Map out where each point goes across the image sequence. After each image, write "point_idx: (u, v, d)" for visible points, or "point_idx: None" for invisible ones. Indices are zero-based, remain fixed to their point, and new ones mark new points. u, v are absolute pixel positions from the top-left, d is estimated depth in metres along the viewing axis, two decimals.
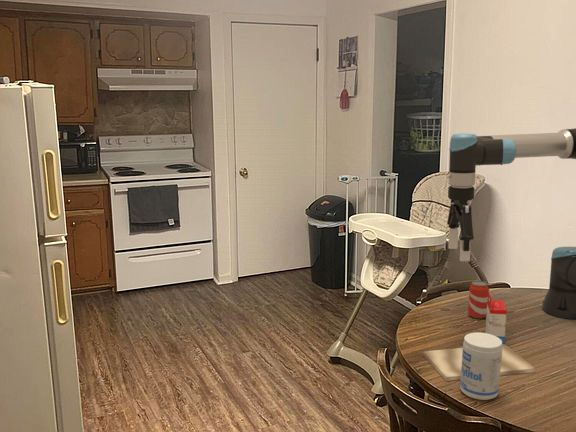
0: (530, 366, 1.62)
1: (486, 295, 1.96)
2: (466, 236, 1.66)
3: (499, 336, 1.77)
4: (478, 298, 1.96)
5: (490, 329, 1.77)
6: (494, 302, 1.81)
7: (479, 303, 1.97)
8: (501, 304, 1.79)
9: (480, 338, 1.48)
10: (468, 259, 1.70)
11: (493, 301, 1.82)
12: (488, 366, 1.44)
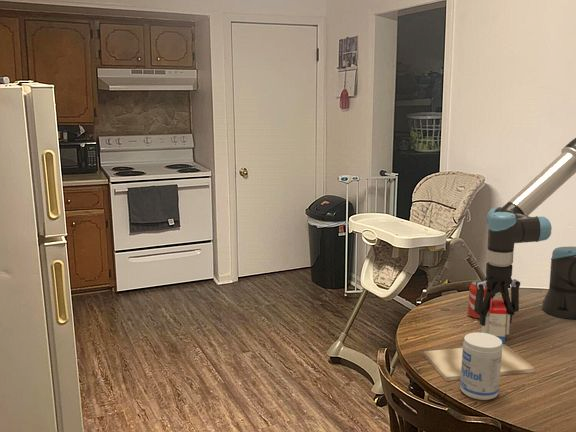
0: (530, 366, 1.62)
1: None
2: (475, 309, 1.79)
3: (499, 336, 1.77)
4: None
5: (490, 329, 1.77)
6: (494, 302, 1.81)
7: None
8: (501, 304, 1.79)
9: (480, 338, 1.48)
10: None
11: (493, 301, 1.82)
12: (488, 366, 1.44)
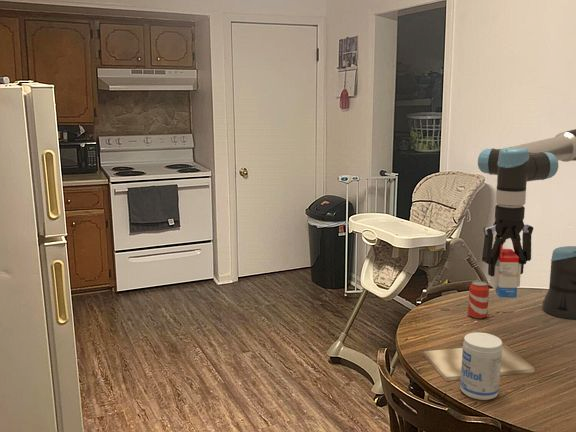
0: (530, 366, 1.62)
1: (486, 295, 1.96)
2: (483, 258, 1.60)
3: (510, 287, 1.58)
4: (478, 298, 1.96)
5: (500, 280, 1.58)
6: (503, 251, 1.62)
7: (479, 303, 1.97)
8: (512, 252, 1.60)
9: (480, 338, 1.48)
10: (494, 286, 1.61)
11: None
12: (488, 366, 1.44)
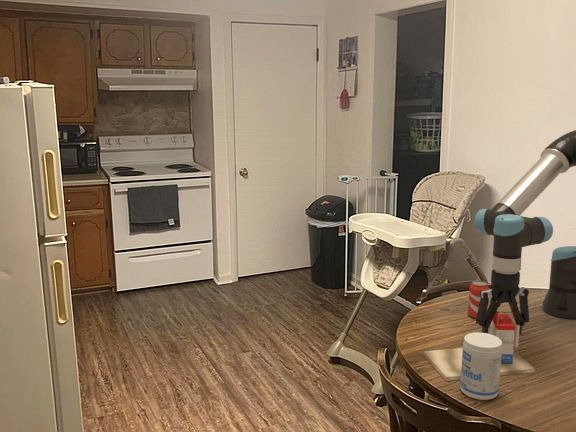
0: (530, 366, 1.62)
1: None
2: (477, 320, 1.64)
3: (507, 354, 1.62)
4: (478, 298, 1.96)
5: None
6: (499, 317, 1.66)
7: None
8: (507, 319, 1.65)
9: (480, 338, 1.48)
10: None
11: None
12: (488, 366, 1.44)
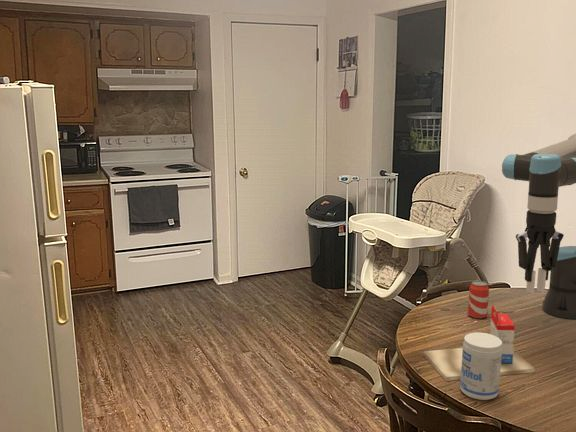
0: (530, 366, 1.62)
1: (486, 295, 1.96)
2: (520, 264, 1.63)
3: (507, 354, 1.62)
4: (478, 298, 1.96)
5: None
6: (499, 317, 1.66)
7: (479, 303, 1.97)
8: (507, 319, 1.64)
9: (480, 338, 1.48)
10: (530, 291, 1.63)
11: None
12: (488, 366, 1.44)
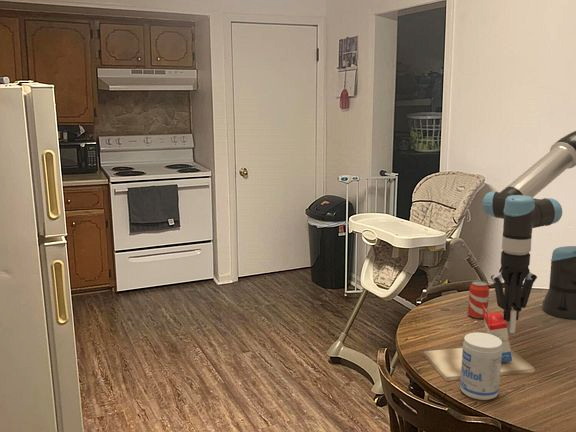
0: (530, 366, 1.62)
1: (486, 295, 1.96)
2: None
3: (504, 352, 1.62)
4: (478, 298, 1.96)
5: None
6: (491, 316, 1.66)
7: (479, 303, 1.97)
8: (499, 317, 1.65)
9: (480, 338, 1.48)
10: (509, 330, 1.64)
11: (490, 315, 1.67)
12: (488, 366, 1.44)
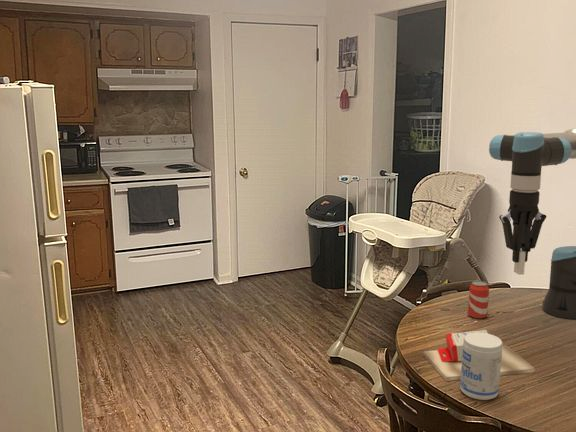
0: (530, 366, 1.62)
1: (486, 295, 1.96)
2: None
3: None
4: (478, 298, 1.96)
5: None
6: (448, 346, 1.69)
7: (479, 303, 1.97)
8: (448, 342, 1.68)
9: (480, 338, 1.48)
10: (518, 272, 1.61)
11: (447, 345, 1.70)
12: (488, 366, 1.44)
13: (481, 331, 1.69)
